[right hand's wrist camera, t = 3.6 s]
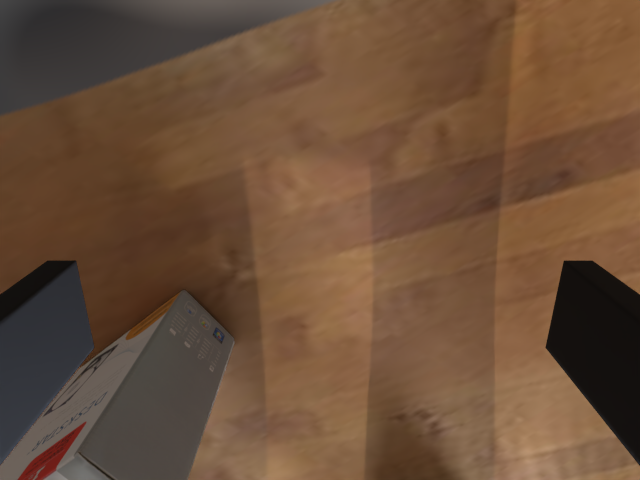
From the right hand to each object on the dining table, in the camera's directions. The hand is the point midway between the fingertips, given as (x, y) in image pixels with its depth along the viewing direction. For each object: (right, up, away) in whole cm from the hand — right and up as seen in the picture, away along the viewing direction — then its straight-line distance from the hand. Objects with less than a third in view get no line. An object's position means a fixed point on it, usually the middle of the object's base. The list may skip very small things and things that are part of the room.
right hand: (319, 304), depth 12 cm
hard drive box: (-17, -10, +34) cm, 39 cm away
